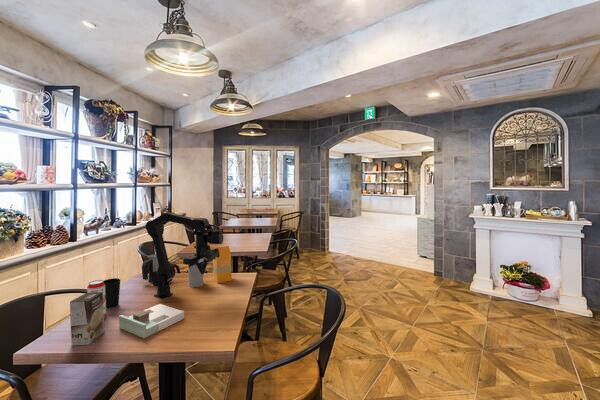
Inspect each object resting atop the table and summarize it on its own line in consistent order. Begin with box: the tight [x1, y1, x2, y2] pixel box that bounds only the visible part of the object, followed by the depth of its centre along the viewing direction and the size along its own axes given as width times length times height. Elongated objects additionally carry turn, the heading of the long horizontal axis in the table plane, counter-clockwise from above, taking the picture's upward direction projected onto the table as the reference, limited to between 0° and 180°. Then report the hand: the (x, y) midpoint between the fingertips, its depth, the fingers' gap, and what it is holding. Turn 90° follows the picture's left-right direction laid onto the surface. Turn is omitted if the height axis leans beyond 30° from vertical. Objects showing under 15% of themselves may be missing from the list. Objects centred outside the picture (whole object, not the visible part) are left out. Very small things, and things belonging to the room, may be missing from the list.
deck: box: [118, 303, 185, 339], centre depth 119 cm, size 16×18×5 cm
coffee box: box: [69, 292, 105, 346], centre depth 107 cm, size 9×6×16 cm
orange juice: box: [212, 245, 233, 284], centre depth 171 cm, size 8×9×20 cm
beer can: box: [86, 279, 107, 319], centre depth 122 cm, size 6×6×16 cm
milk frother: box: [141, 253, 172, 283], centre depth 168 cm, size 14×16×15 cm
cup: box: [103, 277, 121, 310], centre depth 135 cm, size 8×8×12 cm
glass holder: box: [187, 264, 205, 288], centre depth 166 cm, size 9×14×15 cm, turn 21°
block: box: [132, 310, 149, 323], centre depth 115 cm, size 4×4×3 cm
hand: (202, 274), depth 144 cm, fingers closed
